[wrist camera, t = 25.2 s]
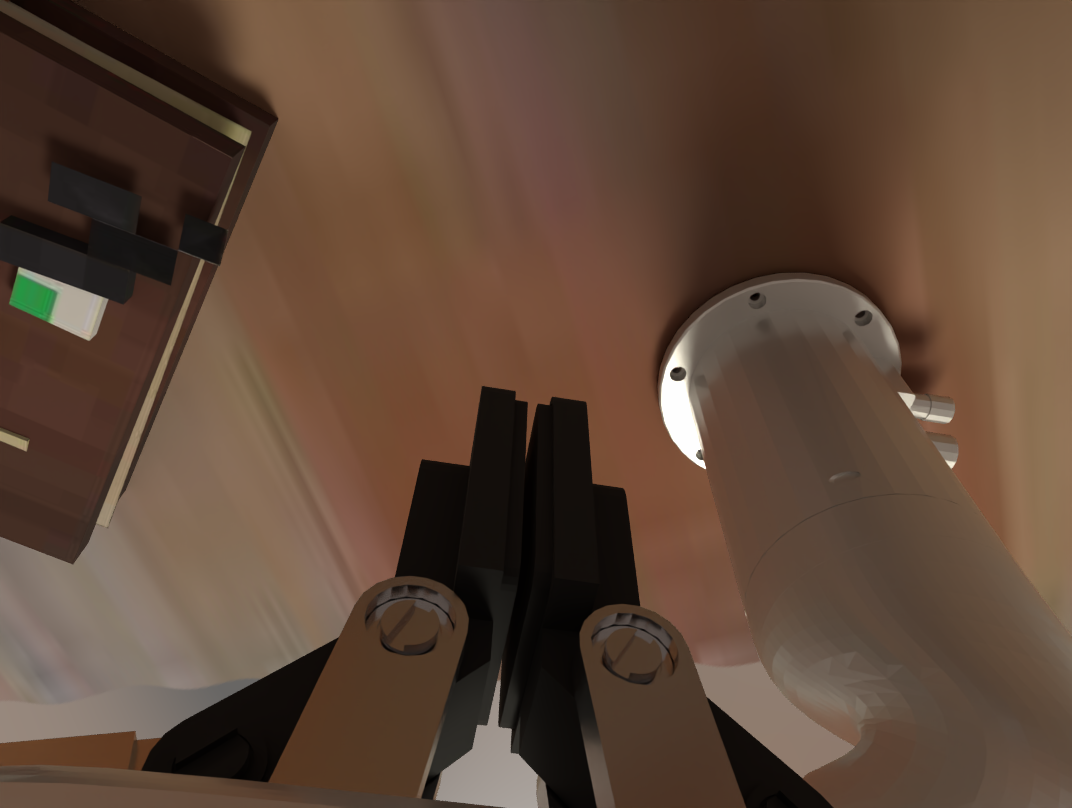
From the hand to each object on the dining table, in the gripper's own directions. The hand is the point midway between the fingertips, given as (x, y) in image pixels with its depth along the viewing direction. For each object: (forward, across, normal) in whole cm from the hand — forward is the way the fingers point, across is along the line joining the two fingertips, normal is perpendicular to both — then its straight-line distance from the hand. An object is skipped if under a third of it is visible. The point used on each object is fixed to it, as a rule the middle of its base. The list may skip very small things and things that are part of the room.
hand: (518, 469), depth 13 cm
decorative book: (+28, +24, +12) cm, 38 cm away
